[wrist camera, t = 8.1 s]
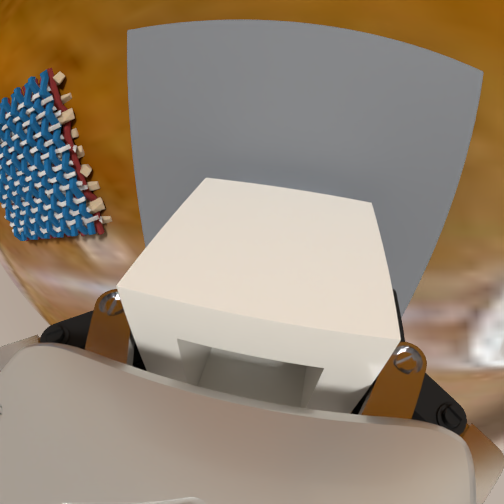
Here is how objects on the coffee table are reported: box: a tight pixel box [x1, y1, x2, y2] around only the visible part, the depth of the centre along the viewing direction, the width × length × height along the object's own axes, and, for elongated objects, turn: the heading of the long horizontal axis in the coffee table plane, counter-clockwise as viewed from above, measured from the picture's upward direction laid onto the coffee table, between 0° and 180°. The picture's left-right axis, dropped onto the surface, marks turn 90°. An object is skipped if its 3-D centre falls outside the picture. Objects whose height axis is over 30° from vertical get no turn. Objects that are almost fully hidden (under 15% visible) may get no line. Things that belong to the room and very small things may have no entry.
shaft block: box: [127, 20, 483, 317], centre depth 12 cm, size 14×18×6 cm
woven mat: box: [0, 68, 112, 241], centre depth 15 cm, size 10×11×2 cm
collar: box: [116, 178, 401, 414], centre depth 10 cm, size 6×6×6 cm
